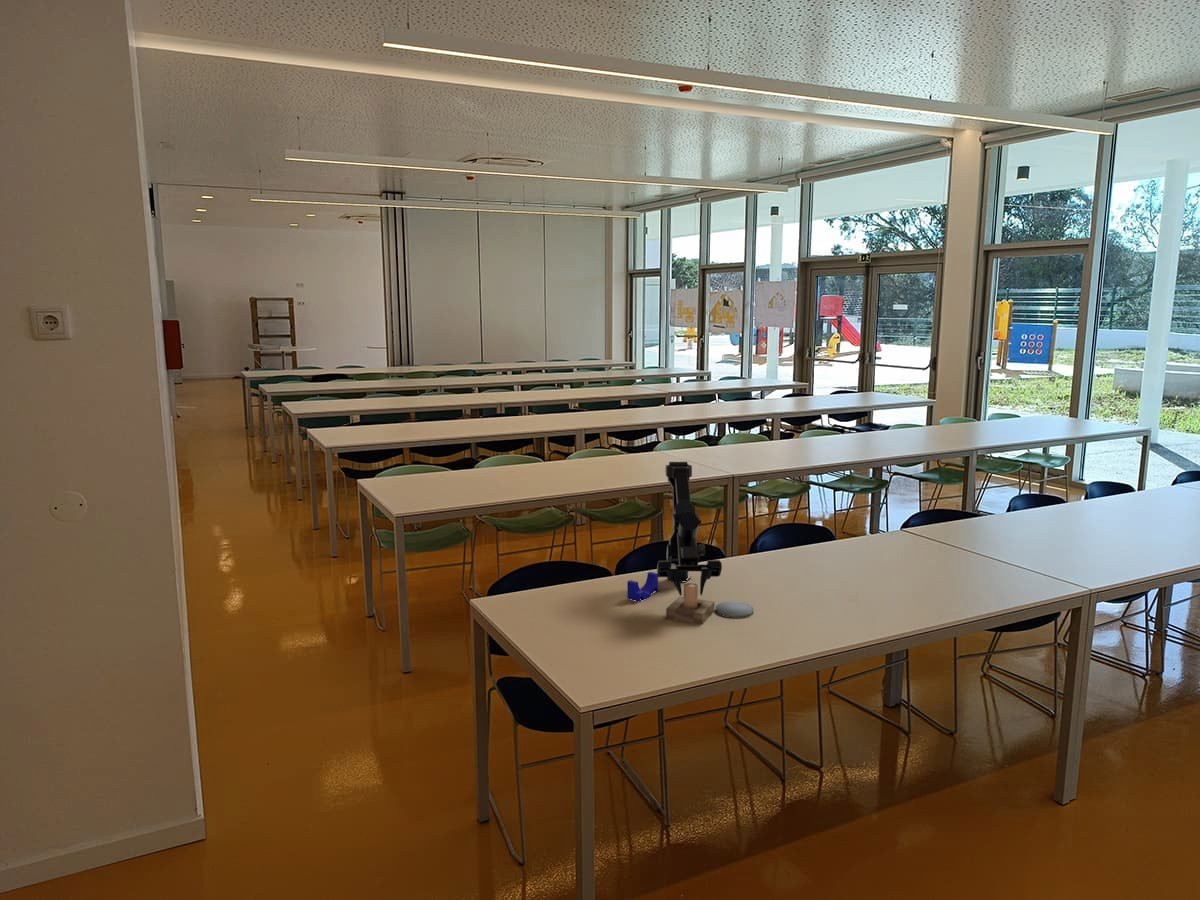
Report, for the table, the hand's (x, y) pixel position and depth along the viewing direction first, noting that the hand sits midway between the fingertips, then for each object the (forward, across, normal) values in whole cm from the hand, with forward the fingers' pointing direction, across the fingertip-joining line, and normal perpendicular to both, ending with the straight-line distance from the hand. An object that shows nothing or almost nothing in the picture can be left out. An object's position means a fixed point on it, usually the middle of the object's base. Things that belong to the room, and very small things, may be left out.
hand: (691, 594), depth 236 cm
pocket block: (+4, 0, +6) cm, 7 cm away
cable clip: (-8, -12, +18) cm, 23 cm away
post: (+4, 0, +6) cm, 7 cm away
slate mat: (+2, +13, +8) cm, 15 cm away
